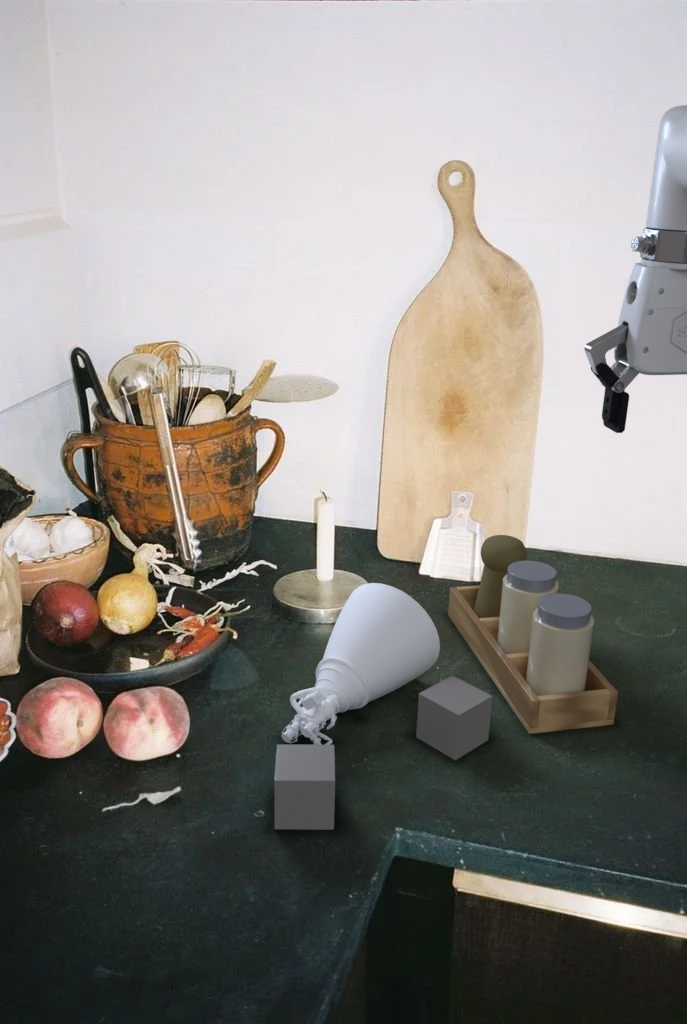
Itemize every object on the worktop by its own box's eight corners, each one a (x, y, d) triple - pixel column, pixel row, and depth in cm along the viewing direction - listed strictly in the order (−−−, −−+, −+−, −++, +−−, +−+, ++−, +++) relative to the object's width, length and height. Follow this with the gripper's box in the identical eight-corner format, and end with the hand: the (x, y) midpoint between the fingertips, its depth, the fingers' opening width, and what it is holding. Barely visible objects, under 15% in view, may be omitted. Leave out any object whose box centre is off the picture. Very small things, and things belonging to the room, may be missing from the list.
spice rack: (516, 609, 118) (519, 581, 116) (613, 724, 94) (618, 692, 93) (447, 615, 116) (449, 587, 114) (529, 734, 92) (532, 701, 91)
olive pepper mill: (470, 633, 110) (477, 547, 106) (472, 610, 115) (478, 527, 111) (522, 638, 109) (531, 551, 105) (521, 614, 115) (530, 531, 111)
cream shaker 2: (593, 712, 95) (606, 616, 91) (538, 718, 94) (549, 620, 90) (567, 681, 101) (579, 589, 97) (515, 687, 99) (525, 593, 95)
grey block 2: (488, 740, 91) (492, 695, 89) (455, 760, 88) (458, 715, 86) (449, 718, 95) (452, 675, 93) (415, 737, 91) (418, 693, 90)
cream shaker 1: (558, 670, 103) (569, 579, 99) (507, 675, 101) (516, 584, 97) (537, 644, 108) (546, 557, 104) (487, 648, 107) (495, 560, 103)
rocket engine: (288, 673, 83) (391, 567, 96) (226, 704, 92) (329, 603, 104) (367, 773, 84) (460, 655, 96) (299, 794, 92) (393, 684, 105)
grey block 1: (334, 829, 79) (335, 780, 77) (274, 829, 79) (274, 780, 77) (333, 791, 83) (334, 744, 82) (277, 791, 83) (277, 744, 81)
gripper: (618, 254, 82) (595, 441, 88) (792, 254, 85) (758, 434, 92) (580, 245, 89) (561, 420, 95) (743, 246, 92) (714, 414, 98)
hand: (658, 427), depth 93 cm, fingers open, 9 cm apart
